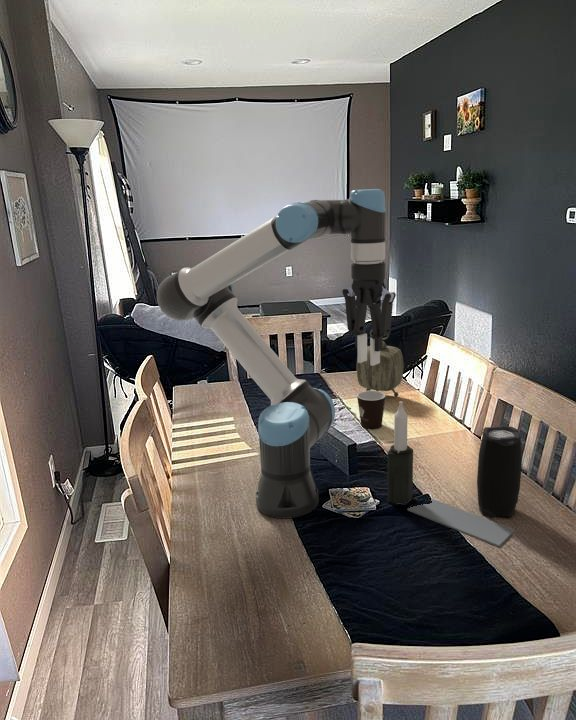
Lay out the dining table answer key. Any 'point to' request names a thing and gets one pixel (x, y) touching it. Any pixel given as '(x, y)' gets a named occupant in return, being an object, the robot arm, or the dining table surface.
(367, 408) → the coffee mug
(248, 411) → the dining table surface
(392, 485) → the candle
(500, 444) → the portable speaker
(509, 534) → the candle mat
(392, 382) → the tabletop clock
